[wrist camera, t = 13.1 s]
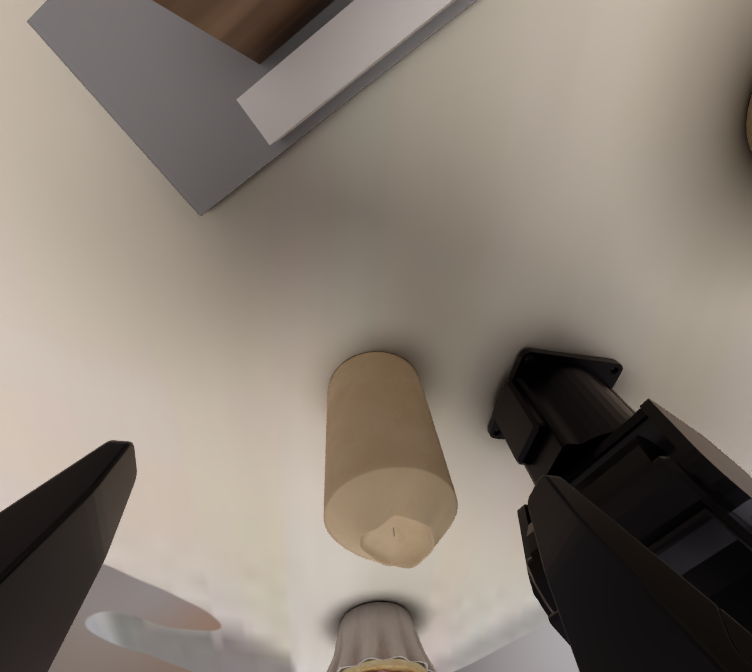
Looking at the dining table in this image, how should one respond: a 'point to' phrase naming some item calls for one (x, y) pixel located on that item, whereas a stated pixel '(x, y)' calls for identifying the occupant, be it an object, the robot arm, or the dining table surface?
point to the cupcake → (379, 641)
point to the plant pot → (749, 124)
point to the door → (249, 21)
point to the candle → (384, 463)
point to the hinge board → (227, 79)
